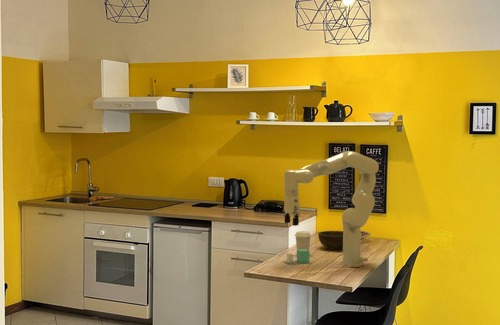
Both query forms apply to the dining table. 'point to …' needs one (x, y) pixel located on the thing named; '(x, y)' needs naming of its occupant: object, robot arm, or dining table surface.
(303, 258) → the cap
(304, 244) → the coffee cup
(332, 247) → the bowl
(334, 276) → the dining table surface
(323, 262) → the dining table surface
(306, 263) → the stand board
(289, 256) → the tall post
